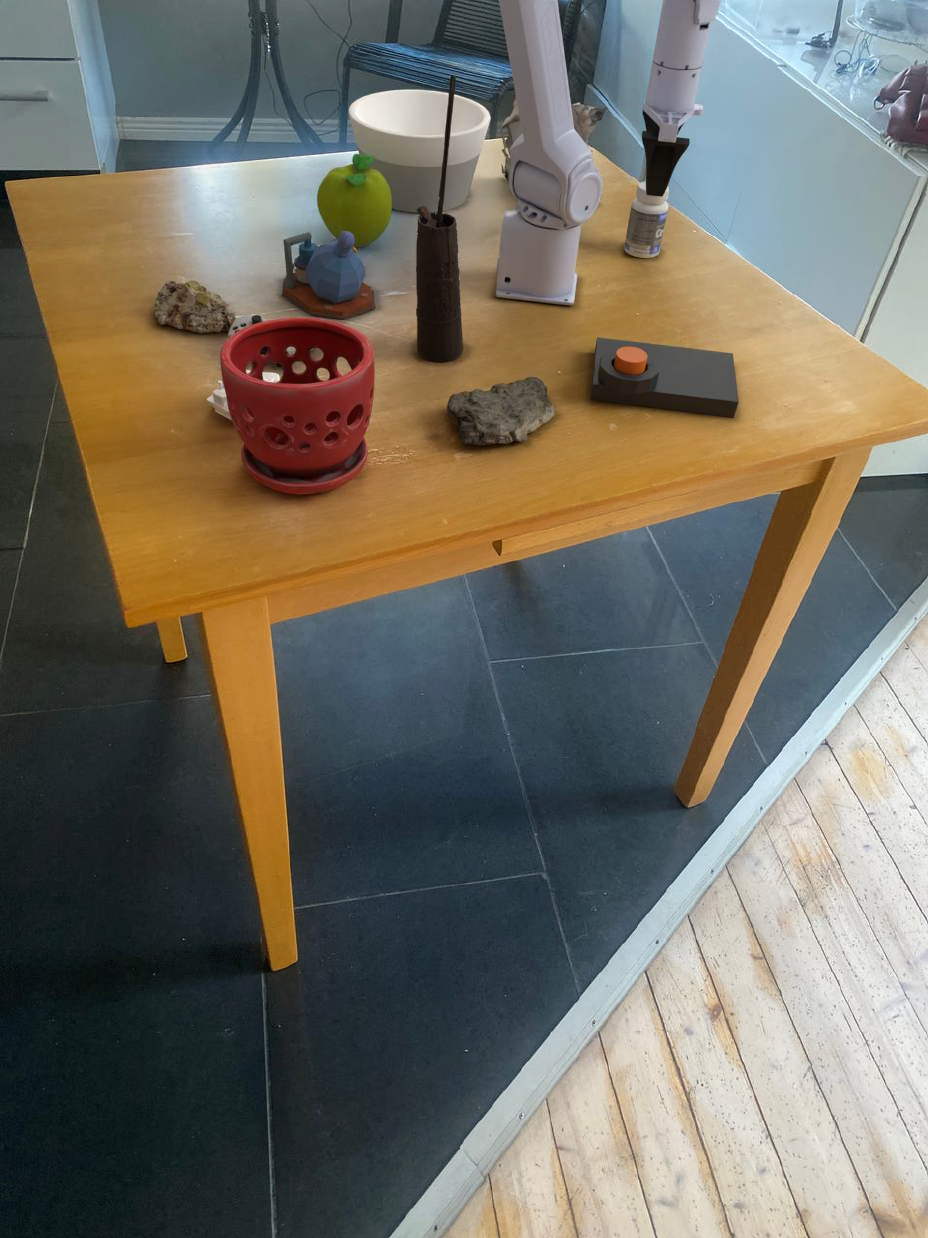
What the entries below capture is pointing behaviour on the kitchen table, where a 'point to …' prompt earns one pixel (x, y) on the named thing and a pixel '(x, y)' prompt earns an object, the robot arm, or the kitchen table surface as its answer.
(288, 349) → the game controller
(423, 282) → the butter churn
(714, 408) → the grey push button box
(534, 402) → the stone
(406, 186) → the bowl
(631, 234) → the pill bottle
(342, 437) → the plant pot
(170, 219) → the kitchen table surface
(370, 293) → the model
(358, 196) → the fruit
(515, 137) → the jagged grey brown piece
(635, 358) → the button
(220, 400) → the toy car
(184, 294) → the mineral rock
